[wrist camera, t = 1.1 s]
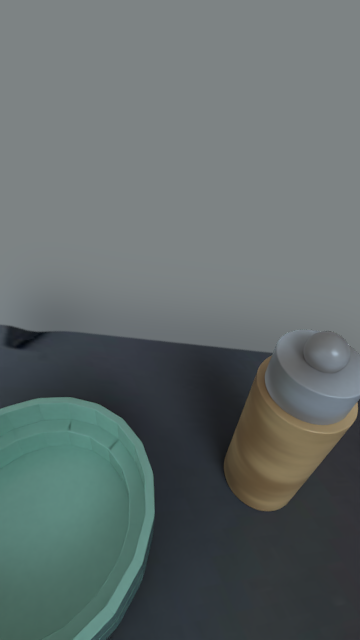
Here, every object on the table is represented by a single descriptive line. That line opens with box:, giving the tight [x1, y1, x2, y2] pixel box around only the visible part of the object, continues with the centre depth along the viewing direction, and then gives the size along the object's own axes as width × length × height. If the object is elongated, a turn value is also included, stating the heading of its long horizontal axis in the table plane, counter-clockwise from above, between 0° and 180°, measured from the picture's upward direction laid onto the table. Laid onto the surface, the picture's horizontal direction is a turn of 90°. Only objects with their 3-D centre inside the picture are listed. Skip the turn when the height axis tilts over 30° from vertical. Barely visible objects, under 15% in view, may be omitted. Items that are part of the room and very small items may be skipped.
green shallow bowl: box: [0, 397, 155, 640], centre depth 17 cm, size 13×13×4 cm
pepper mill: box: [224, 329, 360, 511], centre depth 18 cm, size 5×5×14 cm
